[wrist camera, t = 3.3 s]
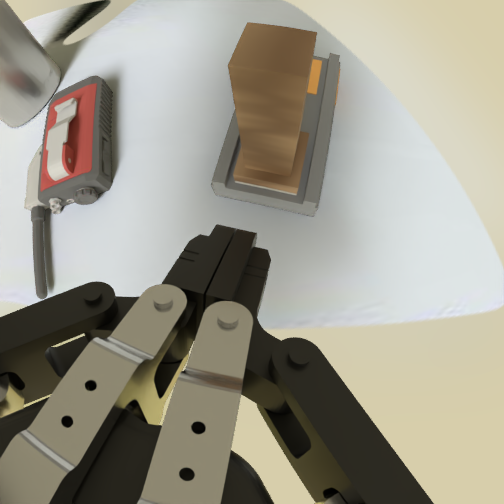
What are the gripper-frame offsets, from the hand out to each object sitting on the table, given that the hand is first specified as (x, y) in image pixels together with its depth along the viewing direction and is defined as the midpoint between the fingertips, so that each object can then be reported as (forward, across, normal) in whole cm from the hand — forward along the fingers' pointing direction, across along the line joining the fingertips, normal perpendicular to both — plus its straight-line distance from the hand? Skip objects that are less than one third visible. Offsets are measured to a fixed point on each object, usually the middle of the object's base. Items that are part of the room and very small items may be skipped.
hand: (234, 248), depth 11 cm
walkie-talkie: (+10, +17, +4) cm, 20 cm away
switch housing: (+14, 0, -2) cm, 15 cm away
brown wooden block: (+10, 0, 0) cm, 10 cm away
